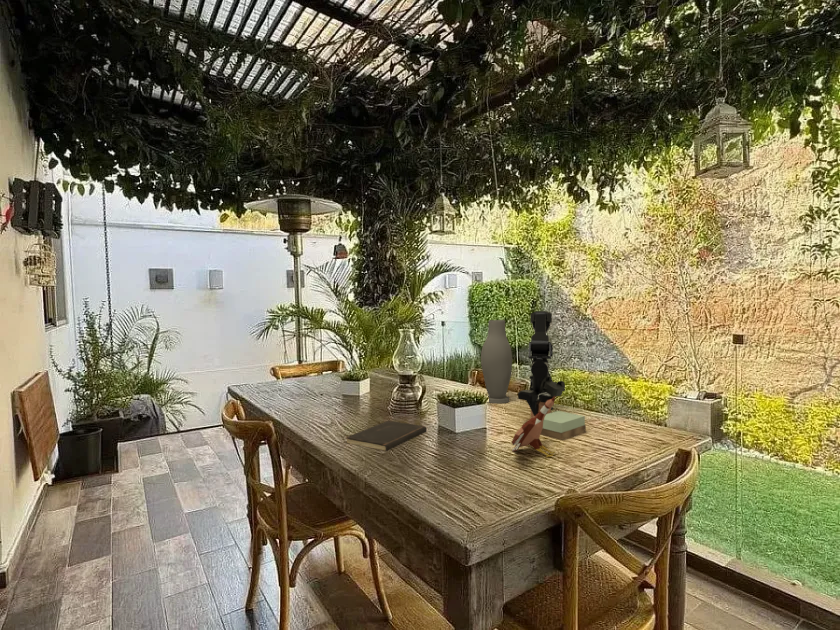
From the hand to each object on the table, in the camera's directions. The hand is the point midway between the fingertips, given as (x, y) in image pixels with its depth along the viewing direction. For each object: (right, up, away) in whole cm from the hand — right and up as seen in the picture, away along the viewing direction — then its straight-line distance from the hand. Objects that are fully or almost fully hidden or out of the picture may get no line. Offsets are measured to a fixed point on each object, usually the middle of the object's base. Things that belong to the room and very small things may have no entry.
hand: (540, 416), depth 169 cm
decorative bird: (-11, -3, -36) cm, 37 cm away
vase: (-11, -1, +33) cm, 34 cm away
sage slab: (+2, 0, -16) cm, 16 cm away
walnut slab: (+3, -3, -16) cm, 16 cm away
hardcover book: (-55, -4, -16) cm, 57 cm away
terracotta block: (0, -2, 0) cm, 2 cm away
